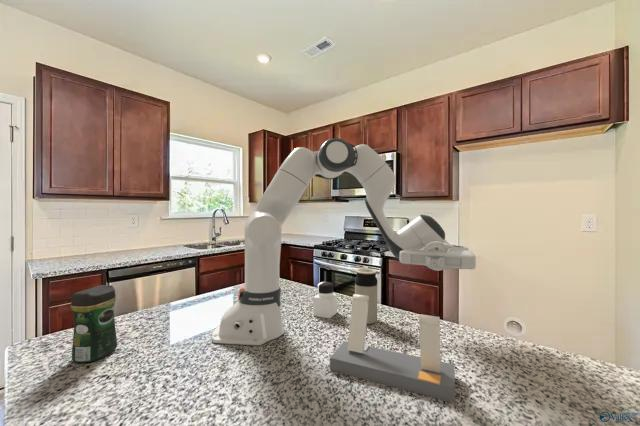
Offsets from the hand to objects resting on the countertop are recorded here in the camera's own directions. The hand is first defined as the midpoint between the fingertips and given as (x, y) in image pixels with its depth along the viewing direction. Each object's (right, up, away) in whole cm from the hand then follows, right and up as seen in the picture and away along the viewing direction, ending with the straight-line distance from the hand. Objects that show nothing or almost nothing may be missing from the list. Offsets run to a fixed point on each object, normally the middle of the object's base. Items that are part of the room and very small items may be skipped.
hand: (434, 263), depth 75 cm
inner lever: (-21, -22, -3) cm, 31 cm away
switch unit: (-13, -26, -7) cm, 30 cm away
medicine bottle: (-29, -25, +32) cm, 50 cm away
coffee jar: (-92, -26, +2) cm, 96 cm away
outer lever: (-5, -22, -11) cm, 25 cm away
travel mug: (-14, -25, +26) cm, 39 cm away
